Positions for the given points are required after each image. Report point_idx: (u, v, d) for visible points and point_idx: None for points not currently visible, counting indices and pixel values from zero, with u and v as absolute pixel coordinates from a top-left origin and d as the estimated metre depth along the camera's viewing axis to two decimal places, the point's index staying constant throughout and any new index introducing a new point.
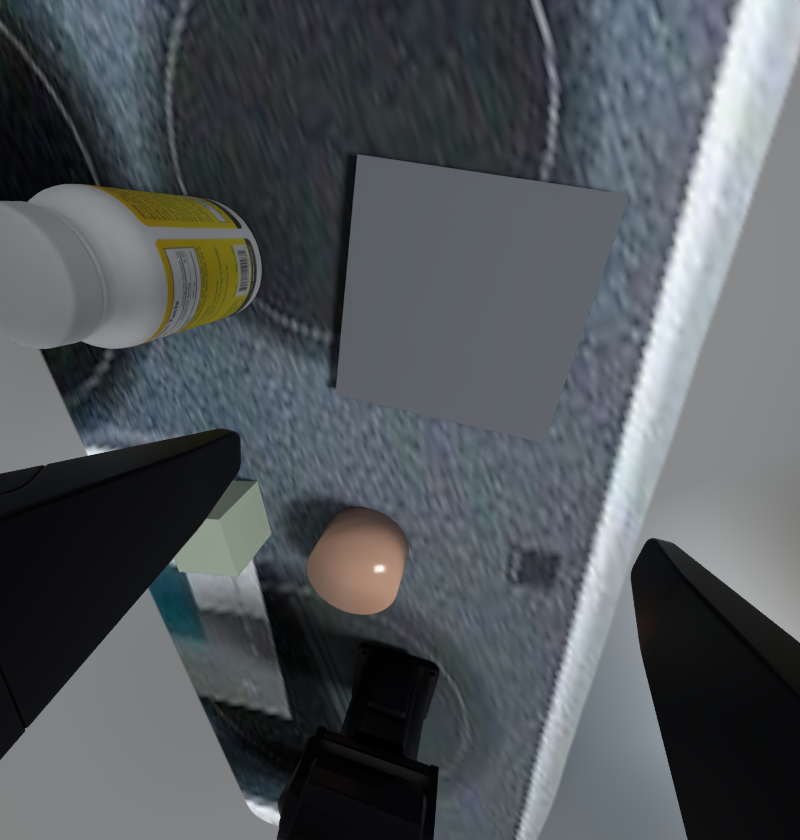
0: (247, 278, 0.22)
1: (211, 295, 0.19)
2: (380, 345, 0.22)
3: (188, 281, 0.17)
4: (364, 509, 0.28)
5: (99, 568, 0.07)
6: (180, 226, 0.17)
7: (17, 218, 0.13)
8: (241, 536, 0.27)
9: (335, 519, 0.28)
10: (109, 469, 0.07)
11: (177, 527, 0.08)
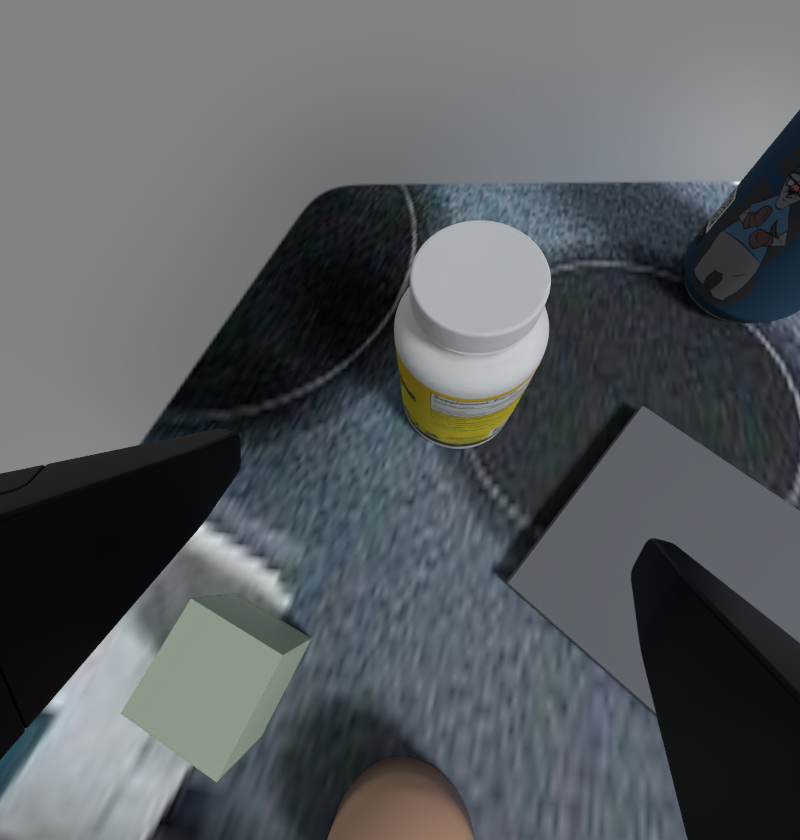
0: (501, 426, 0.22)
1: (504, 412, 0.19)
2: (589, 559, 0.20)
3: (525, 386, 0.17)
4: (439, 772, 0.18)
5: (99, 568, 0.07)
6: None
7: (535, 249, 0.14)
8: (262, 708, 0.17)
9: (394, 764, 0.18)
10: (109, 469, 0.07)
11: (177, 527, 0.08)
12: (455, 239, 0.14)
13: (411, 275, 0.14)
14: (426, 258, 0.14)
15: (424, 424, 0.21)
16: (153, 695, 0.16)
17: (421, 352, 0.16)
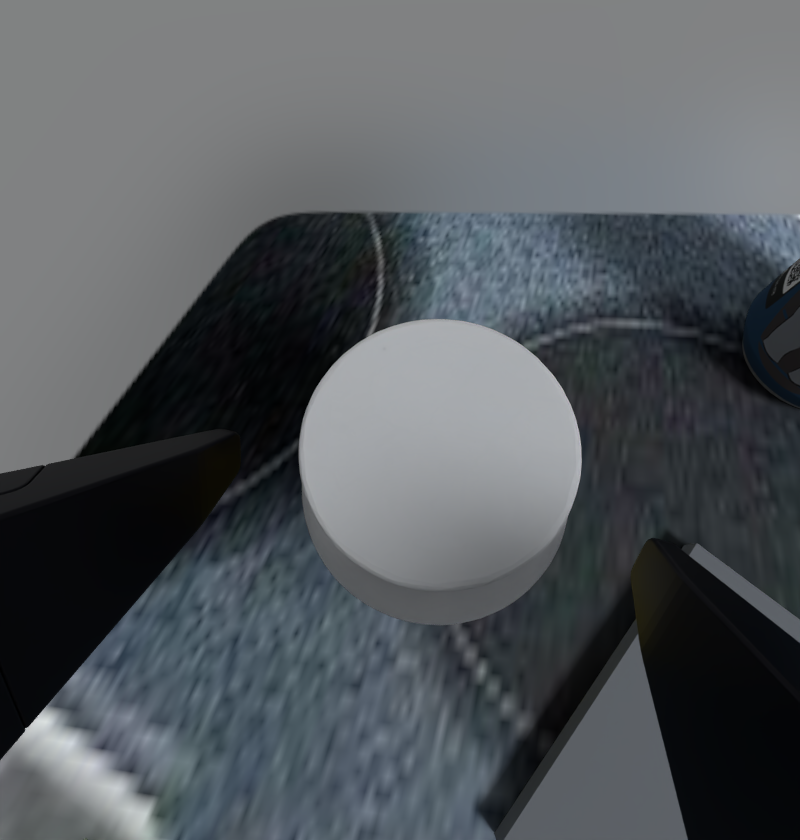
0: None
1: None
2: (625, 808, 0.13)
3: None
4: None
5: (99, 568, 0.07)
6: None
7: (550, 385, 0.07)
8: None
9: None
10: (109, 469, 0.07)
11: (177, 527, 0.08)
12: (393, 359, 0.07)
13: (301, 435, 0.07)
14: (334, 398, 0.07)
15: None
16: None
17: (338, 548, 0.08)
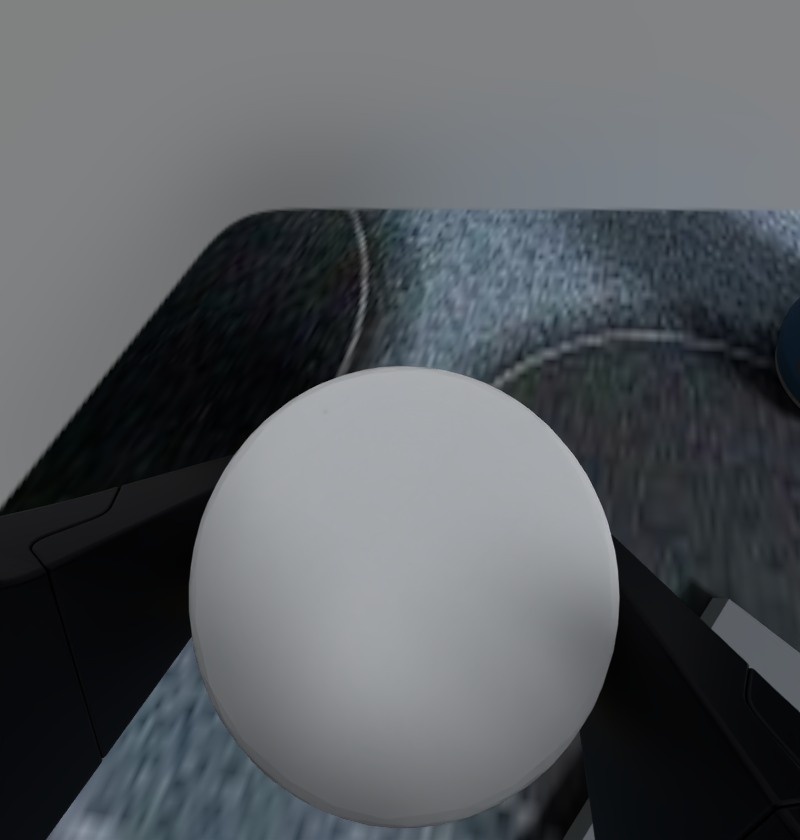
0: None
1: None
2: None
3: None
4: None
5: (173, 592, 0.06)
6: None
7: (569, 472, 0.05)
8: None
9: None
10: (183, 490, 0.06)
11: None
12: (336, 427, 0.05)
13: (195, 548, 0.05)
14: (247, 490, 0.05)
15: None
16: None
17: None
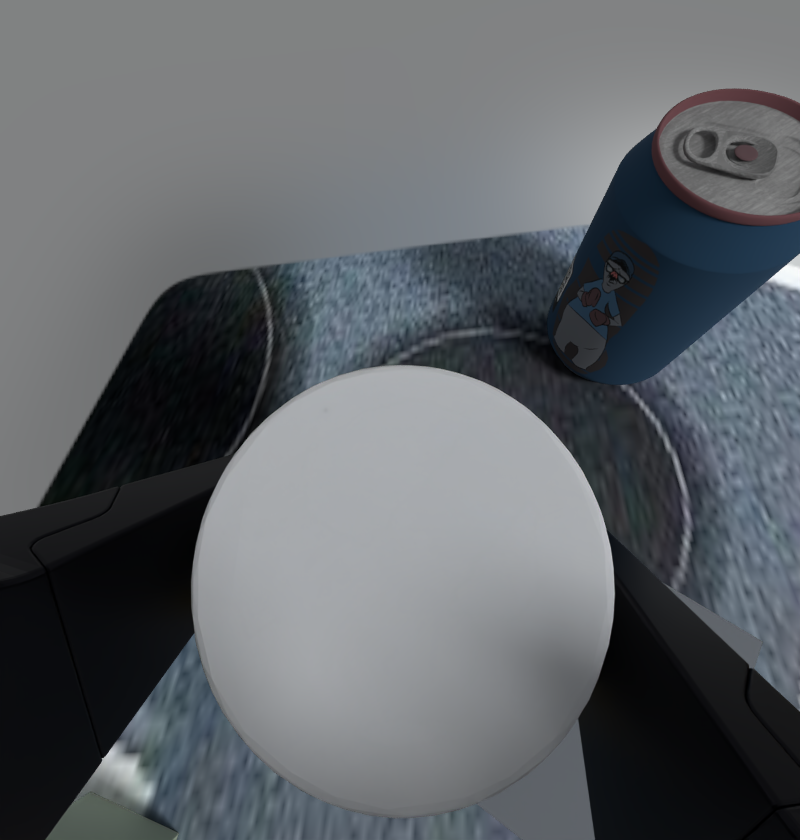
0: None
1: None
2: None
3: None
4: None
5: (173, 592, 0.06)
6: None
7: (565, 469, 0.05)
8: None
9: None
10: (184, 490, 0.06)
11: None
12: (337, 426, 0.05)
13: (197, 545, 0.05)
14: (248, 487, 0.05)
15: None
16: None
17: None
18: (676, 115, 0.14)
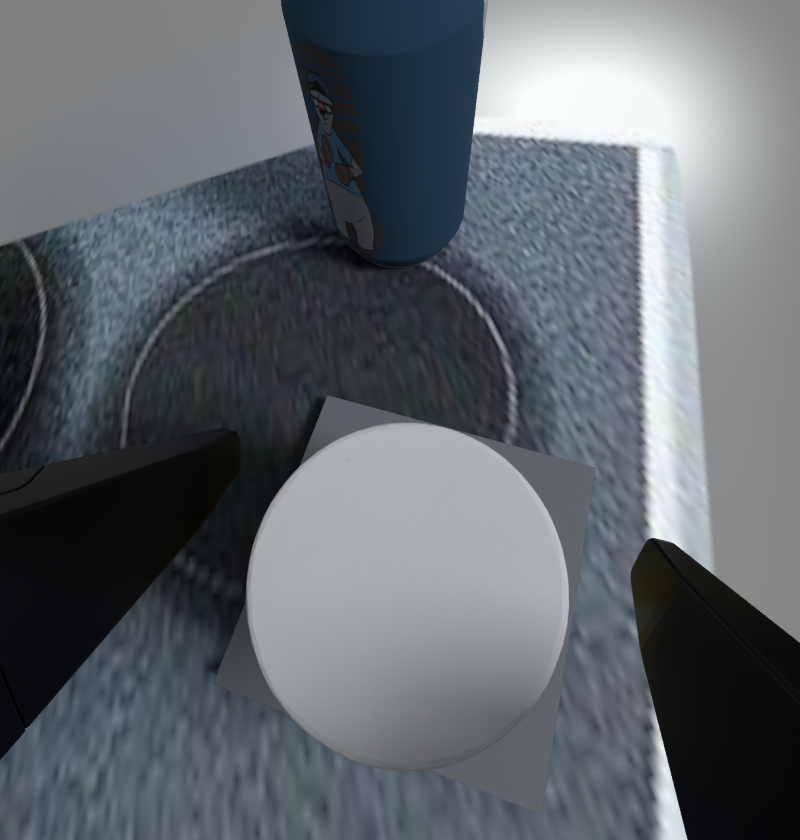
0: None
1: None
2: None
3: None
4: None
5: (99, 568, 0.07)
6: None
7: (534, 508, 0.06)
8: None
9: None
10: (109, 469, 0.07)
11: (177, 527, 0.08)
12: (356, 473, 0.06)
13: (250, 566, 0.06)
14: (288, 521, 0.06)
15: None
16: None
17: None
18: None
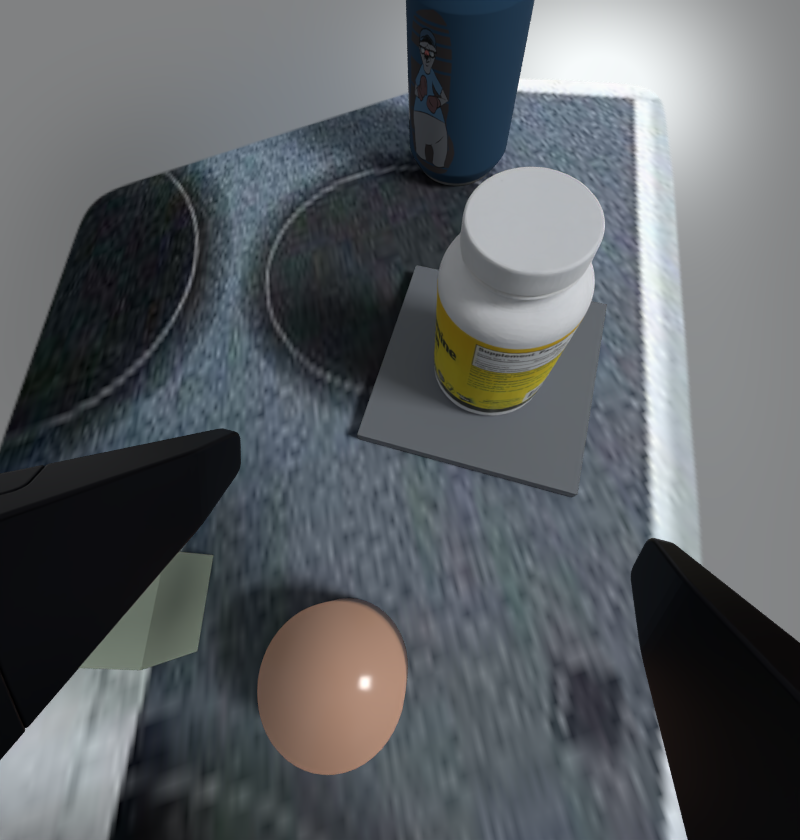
0: (536, 390, 0.22)
1: (544, 370, 0.19)
2: (413, 390, 0.24)
3: (568, 340, 0.17)
4: None
5: (99, 568, 0.07)
6: None
7: (588, 193, 0.14)
8: (171, 608, 0.18)
9: None
10: (109, 469, 0.07)
11: (177, 527, 0.08)
12: (506, 185, 0.14)
13: (464, 218, 0.14)
14: (479, 202, 0.14)
15: (460, 387, 0.21)
16: None
17: (469, 301, 0.16)
18: None
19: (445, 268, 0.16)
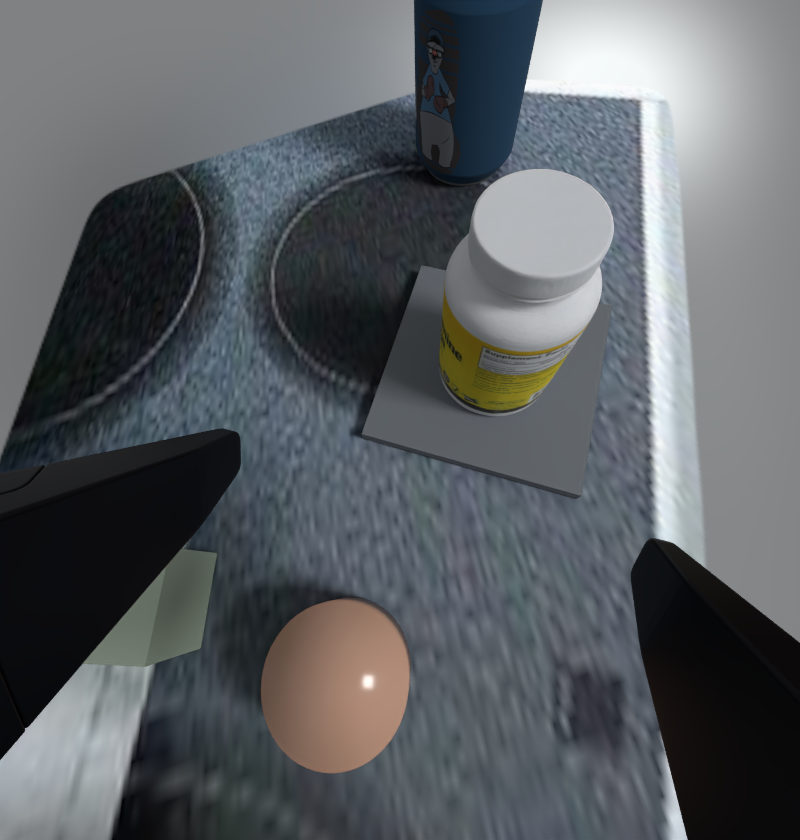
0: (541, 391, 0.22)
1: (550, 372, 0.19)
2: (418, 390, 0.24)
3: (574, 343, 0.17)
4: (358, 598, 0.21)
5: (99, 568, 0.07)
6: None
7: (597, 196, 0.14)
8: (175, 605, 0.19)
9: None
10: (109, 469, 0.07)
11: (177, 527, 0.08)
12: (515, 187, 0.14)
13: (473, 221, 0.14)
14: (487, 204, 0.14)
15: (465, 388, 0.21)
16: None
17: (477, 303, 0.16)
18: None
19: (452, 270, 0.16)
